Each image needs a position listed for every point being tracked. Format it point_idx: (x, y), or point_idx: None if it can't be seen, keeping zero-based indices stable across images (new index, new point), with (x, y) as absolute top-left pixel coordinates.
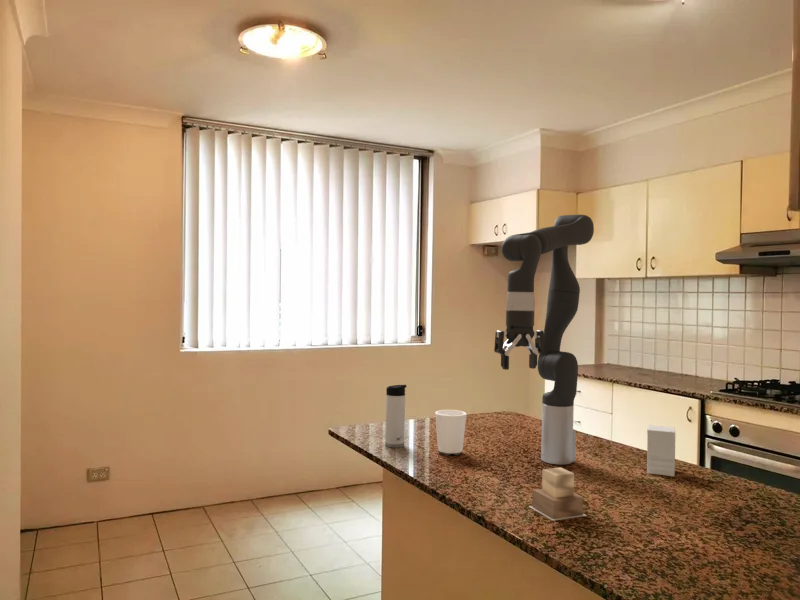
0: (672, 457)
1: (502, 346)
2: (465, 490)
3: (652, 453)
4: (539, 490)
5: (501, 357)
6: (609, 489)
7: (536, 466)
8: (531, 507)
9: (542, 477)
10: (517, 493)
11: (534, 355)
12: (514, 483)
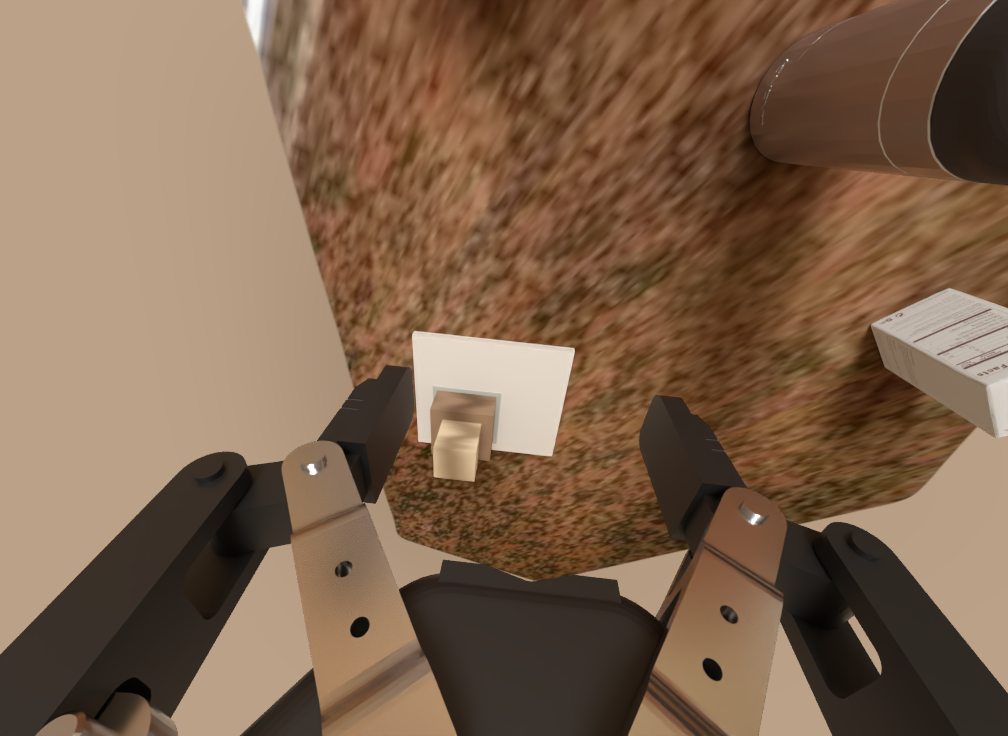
0: (923, 390)
1: (227, 600)
2: (369, 241)
3: (918, 359)
4: (439, 416)
5: (323, 440)
6: (665, 363)
7: (684, 132)
8: (434, 391)
9: (437, 436)
10: (470, 305)
11: (677, 536)
12: (507, 247)
